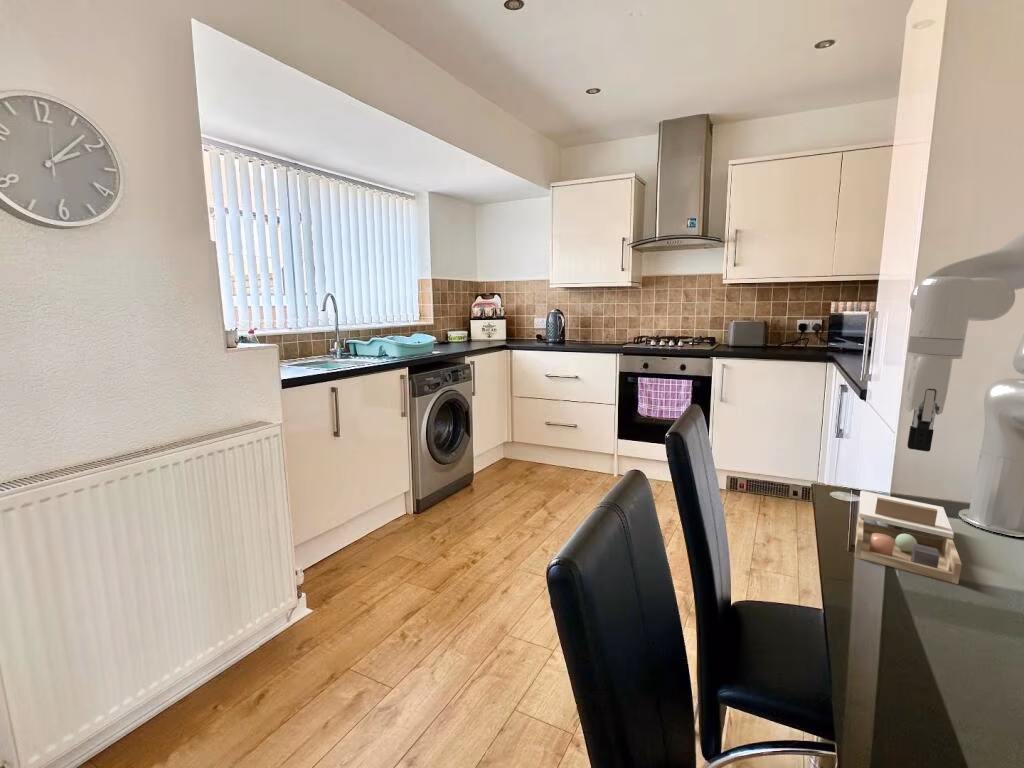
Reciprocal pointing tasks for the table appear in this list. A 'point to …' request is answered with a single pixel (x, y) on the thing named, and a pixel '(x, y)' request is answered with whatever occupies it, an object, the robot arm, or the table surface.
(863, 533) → the oak box
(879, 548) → the glossy peach egg
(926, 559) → the charcoal block
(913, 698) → the table surface
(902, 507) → the sliding lid
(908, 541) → the sage ball
